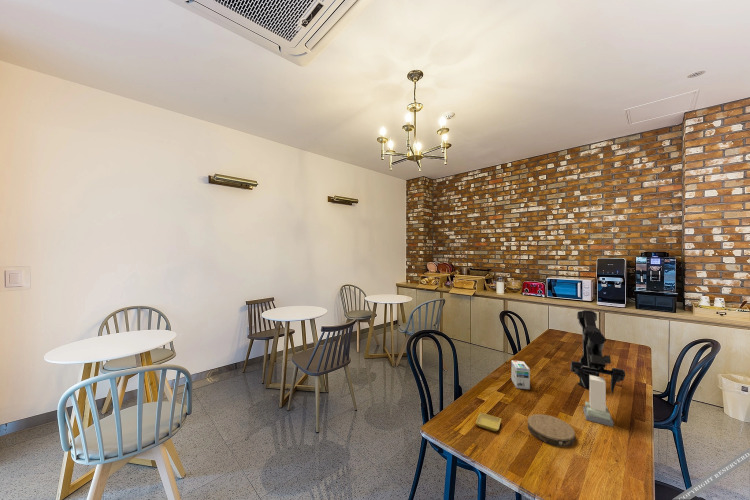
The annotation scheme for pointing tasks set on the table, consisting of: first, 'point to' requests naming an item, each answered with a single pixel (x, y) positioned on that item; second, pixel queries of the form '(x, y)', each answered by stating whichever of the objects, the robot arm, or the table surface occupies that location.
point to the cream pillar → (597, 393)
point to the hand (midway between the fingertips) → (598, 389)
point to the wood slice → (551, 430)
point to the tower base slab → (598, 419)
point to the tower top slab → (597, 412)
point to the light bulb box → (520, 374)
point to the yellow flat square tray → (488, 422)
